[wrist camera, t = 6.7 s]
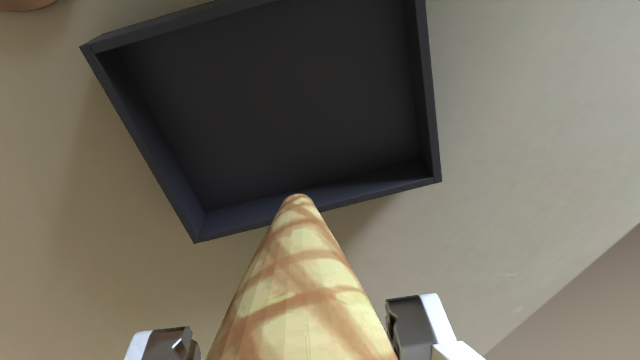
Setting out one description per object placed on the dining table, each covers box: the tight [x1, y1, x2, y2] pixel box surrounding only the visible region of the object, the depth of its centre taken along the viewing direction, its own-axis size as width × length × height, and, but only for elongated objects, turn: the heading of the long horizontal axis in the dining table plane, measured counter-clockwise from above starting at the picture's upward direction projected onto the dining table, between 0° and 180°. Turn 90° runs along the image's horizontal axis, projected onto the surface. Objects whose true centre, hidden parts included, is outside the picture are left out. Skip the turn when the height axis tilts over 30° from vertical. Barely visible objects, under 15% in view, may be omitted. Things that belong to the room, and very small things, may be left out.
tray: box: [79, 0, 442, 244], centre depth 26 cm, size 19×15×3 cm
